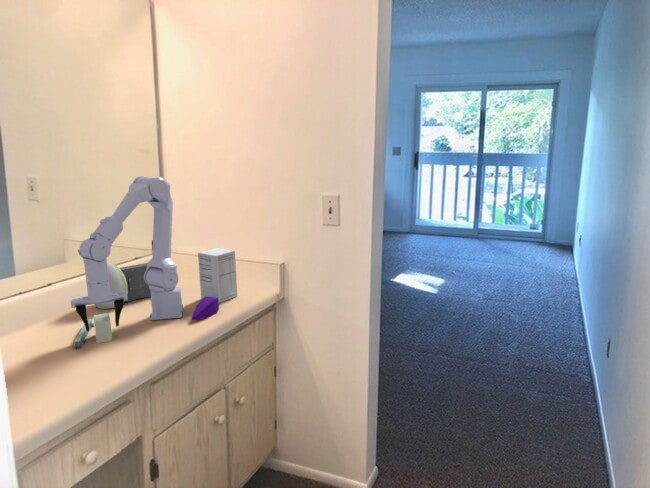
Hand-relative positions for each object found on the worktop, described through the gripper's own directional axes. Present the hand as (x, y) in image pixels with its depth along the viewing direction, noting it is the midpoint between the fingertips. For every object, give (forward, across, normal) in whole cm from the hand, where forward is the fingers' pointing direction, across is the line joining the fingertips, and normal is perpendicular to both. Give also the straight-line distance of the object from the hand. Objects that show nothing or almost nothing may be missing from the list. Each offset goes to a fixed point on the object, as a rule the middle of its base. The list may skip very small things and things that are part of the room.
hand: (102, 327), depth 145 cm
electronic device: (+3, -14, -33) cm, 36 cm away
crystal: (+3, -30, -5) cm, 31 cm away
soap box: (+3, 0, 0) cm, 3 cm away
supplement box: (+3, -39, -21) cm, 44 cm away
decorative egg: (+3, -4, -30) cm, 30 cm away
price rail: (+3, +5, -3) cm, 7 cm away
